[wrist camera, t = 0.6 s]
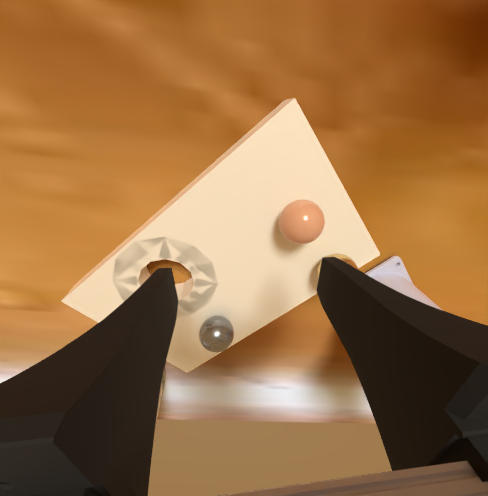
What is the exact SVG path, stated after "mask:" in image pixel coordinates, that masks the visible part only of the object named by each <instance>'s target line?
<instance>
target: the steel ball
mask: <svg viewBox="0 0 488 496" xmlns="http://www.w3.org/2000/svg"><path fill="white" fill-rule="evenodd" d="M233 337H234V329H233V326H232V324H231V323H230V321H229V320H228V319H226V318H225V317H222V316H212V317H210V318H208V319H207V320H205V321H204V323H203V324H202V326H201V328H200V332H199V338H200V342H201V344H202V346H203V347H204V348H205V349H206V350H208V351H210V352H215V353H217V352H222V351H224V350H226V349H227V348H228V347H229V346H230V344H231V343H232V341H233Z"/></svg>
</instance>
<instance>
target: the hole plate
mask: <svg viewBox="0 0 488 496" xmlns="http://www.w3.org/2000/svg"><path fill="white" fill-rule="evenodd" d="M295 200H309V201H312V202H314V203H315V204H317V205H318V206H319V207H320V208H321V210H322V212H323V214H324V218H325V225H324V229H323V231H322V233H321V234H320V236H319V237H318V238H317V239H316V240H314V241H313V242H311V243H308V244H295V243H292V242H290V241H288V240H287V239H286V238H285V237H284V236H283V235H282V233H281V231H280V228H279V217H280V214H281V212H282V210H283V209H284V208H285V207H286V206H287V205H288V204H289V203H291V202H293V201H295ZM336 253H339V254H344V255H347V256H348V257H350V258H351V259H352V260H354V262H355V263H356V265H357V267H358V268H360V267H361V266H363V265H364V264H366V263H368V262H369V261H371V260H373V259H374V258H376V257H378V256H379V255H380V253H379V251H378V249H377V247H376V245H375V244H374V242H373V240H372V238H371V236H370V234H369V233H368V231H367V229H366V227H365V225H364V223H363V222H362V220H361V218H360V216H359V214H358V212H357V211H356V209H355V207H354V205H353V203H352V202H351V200H350V198H349V196H348V194H347V192H346V191H345V189H344V187H343V185H342V183H341V181H340V180H339V178H338V176H337V174H336V172H335V170H334V169H333V167H332V165H331V163H330V161H329V159H328V158H327V156H326V154H325V152H324V150H323V149H322V147H321V145H320V143H319V141H318V139H317V138H316V136H315V134H314V132H313V130H312V128H311V127H310V125H309V123H308V121H307V119H306V117H305V116H304V114H303V112H302V110H301V108H300V106H299V105H298V103H297V101H296V99H295V98H292V99H287V100H284V101H283V102H282V103H281V104H280V105H278V106H277V107H276V108H275V109H274V110H273V111H272V112H270V113H269V114H268V115H267V116H266V117H265V118H264V119H262V120H261V121H260V122H259V123H258V124H257V125H256V126H254V127H253V128H252V129H251V130H250V131H249V132H248V133H246V134H245V135H244V136H243V137H242V138H241V139H240V140H239V141H237V142H236V143H235V144H234V145H233V146H232V147H231V148H229V149H228V150H227V151H226V152H225V153H224V154H223V155H221V156H220V157H219V158H218V159H217V160H216V161H215V162H213V163H212V164H211V165H210V166H209V167H208V168H207V169H206V170H204V171H203V172H202V173H201V174H200V175H199V176H198V177H196V178H195V179H194V180H193V181H192V182H191V183H190V184H188V185H187V186H186V187H185V188H184V189H183V190H182V191H180V192H179V193H178V194H177V195H176V196H175V197H174V198H172V199H171V200H170V201H169V202H168V203H167V204H166V205H165V206H163V207H162V208H161V209H160V210H159V211H158V212H157V213H155V214H154V215H153V216H152V217H151V218H150V219H149V220H147V221H146V222H145V223H144V224H143V225H142V226H141V227H139V228H138V229H137V230H136V231H135V232H134V233H133V234H131V235H130V236H129V237H128V238H127V239H126V240H125V241H124V242H122V243H121V244H120V245H119V246H118V247H117V248H116V249H114V250H113V251H112V252H111V253H110V254H109V255H108V256H106V257H105V258H104V259H103V260H102V261H101V262H100V263H98V264H97V265H96V266H95V267H94V268H93V269H92V270H91V271H89V272H88V273H87V274H86V275H85V276H84V277H83V278H81V279H80V280H79V281H78V282H77V283H76V284H75V285H74V286H73V288H72V289H71V290H70V291H69V292H68V294H67V295H66V296H65V297H64V298H63V300H62V301H61V302H63V303H65V304H67V305H68V306H70V307H72V308H74V309H75V310H77V311H79V312H81V313H82V314H84V315H86V316H88V317H89V318H91V319H93V320H95V321H97V322H98V323H99V322H101V321H102V320H103V319H104V318H106V317H107V316H108V315H109V314H111V313H112V312H113V311H114V310H115V309H116V308H117V307H119V306H120V305H121V304H122V303H123V302H124V301H125V300H126V299H128V298H129V297H130V296H131V295H132V294H133V293H134V292H135V291H136V290H137V289H138V288H139V287H140V286H141V285H142V284H143V283H144V282H145V281H146V280H147V279H148V278H149V277H150V276H151V275H150V273H149V271H148V268H147V266H146V265H147V264H149V263H150V262H152V261H158V260H163V259H167V260H171V261H174V262H178V263H181V264H182V265H183V266H184V267H186V268H187V269H188V270H189V271H190V272H191V275H192V277H191V278H190V279H188V280H187V281H186V282H184V283H180V284H175V287H176V292H177V297H178V310H177V318H176V323H175V327H174V331H173V335H172V339H171V343H170V347H169V351H168V355H167V359H166V361H167V362H169V363H170V364H172V365H174V366H176V367H177V368H179V369H181V370H183V371H184V372H186V373H188V372H190V371H191V370H193V369H195V368H196V367H198V366H200V365H201V364H203V363H204V362H206V361H208V360H209V359H211V358H213V357H214V356H216V355H218V354H219V353H221V352H217V353H215V352H210V351H208V350H206V349H205V348H204V347H203V346H202V344H201V342H200V338H199V332H200V328H201V326H202V324H203V323H204V321H205V320H207V319H208V318H210V317H212V316H222V317H225V318H226V319H228V320H229V321H230V323H231V324H232V326H233V329H234V337H233V341H232V343H231V344H230V346H229V347H231V346H232V345H234V344H235V343H237V342H239V341H240V340H242V339H244V338H245V337H247V336H249V335H250V334H252V333H253V332H255V331H257V330H258V329H260V328H262V327H263V326H265V325H267V324H268V323H270V322H271V321H273V320H275V319H276V318H278V317H280V316H281V315H283V314H284V313H286V312H288V311H289V310H291V309H293V308H294V307H296V306H298V305H299V304H301V303H302V302H304V301H306V300H307V299H309V298H311V297H312V296H314V295H315V294H317V285H318V275H317V270H318V266H319V264H320V262H321V261H322V257H326V256H328V255H331V254H336ZM229 347H228V348H229Z"/></svg>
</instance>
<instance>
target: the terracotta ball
mask: <svg viewBox="0 0 488 496" xmlns="http://www.w3.org/2000/svg"><path fill="white" fill-rule="evenodd" d="M324 225H325V218H324V214H323V212H322V210H321V208H320V207H319V206H318V205H317V204H315V203H314V202H312V201H309V200H295V201H293V202H291V203H289V204H288V205H287V206H286V207H285V208H284V209H283V210H282V212H281V214H280V217H279V228H280V231H281V233H282V235H283V236H284V237H285V238H286V239H287V240H288V241H290V242H292V243H295V244H308V243H311V242H313V241H314V240H316V239H317V238H318V237H319V236H320V234H321V233H322V231H323V229H324Z"/></svg>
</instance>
